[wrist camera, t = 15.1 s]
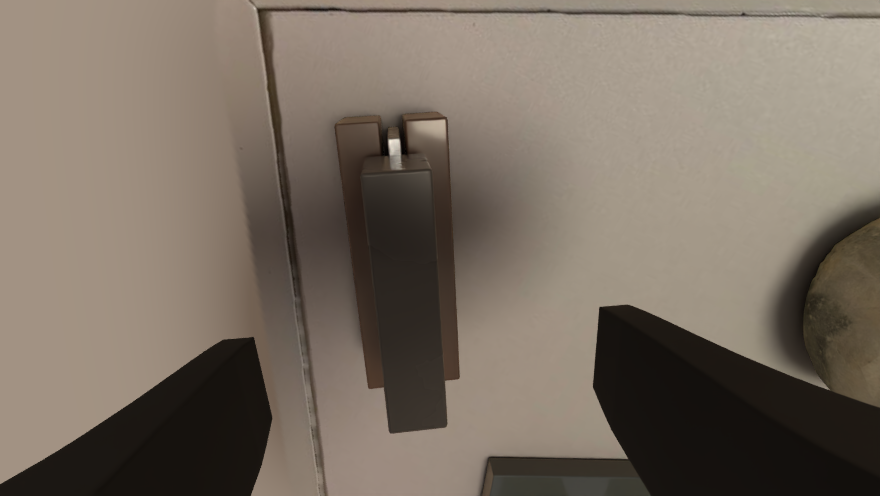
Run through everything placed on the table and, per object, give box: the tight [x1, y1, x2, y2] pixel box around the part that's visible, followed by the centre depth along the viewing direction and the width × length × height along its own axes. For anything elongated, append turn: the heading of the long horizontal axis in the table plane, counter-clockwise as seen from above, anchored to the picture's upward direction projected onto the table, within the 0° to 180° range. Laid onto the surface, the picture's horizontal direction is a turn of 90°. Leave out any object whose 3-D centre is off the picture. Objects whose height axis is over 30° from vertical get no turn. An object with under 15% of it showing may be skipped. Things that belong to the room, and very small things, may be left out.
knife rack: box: [335, 112, 460, 389], centre depth 18 cm, size 4×10×3 cm, turn 3°
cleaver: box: [360, 126, 447, 434], centre depth 16 cm, size 2×9×7 cm, turn 3°
